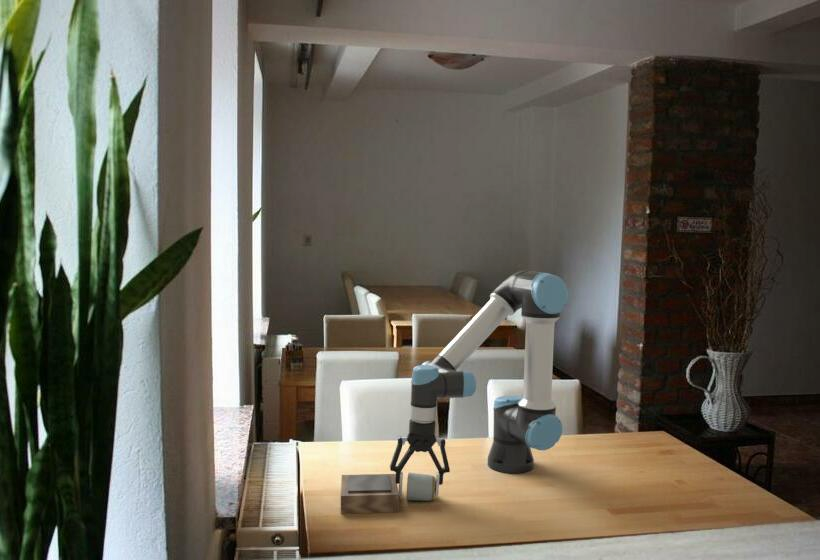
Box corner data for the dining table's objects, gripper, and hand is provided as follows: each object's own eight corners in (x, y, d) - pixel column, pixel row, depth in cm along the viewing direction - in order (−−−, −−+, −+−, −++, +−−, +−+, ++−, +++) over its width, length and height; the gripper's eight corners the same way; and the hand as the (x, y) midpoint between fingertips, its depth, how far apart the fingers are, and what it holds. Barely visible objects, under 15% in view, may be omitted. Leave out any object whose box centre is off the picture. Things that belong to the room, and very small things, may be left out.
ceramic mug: (434, 505, 207) (435, 478, 207) (406, 504, 208) (406, 477, 207) (435, 491, 218) (435, 466, 217) (407, 490, 218) (408, 465, 217)
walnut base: (395, 490, 218) (395, 471, 218) (398, 512, 202) (398, 492, 202) (341, 491, 217) (341, 472, 216) (340, 513, 201) (340, 493, 201)
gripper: (459, 417, 214) (455, 490, 216) (383, 414, 212) (379, 488, 214) (463, 424, 207) (458, 500, 209) (384, 421, 205) (379, 498, 207)
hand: (418, 494), depth 211 cm, fingers open, 10 cm apart
